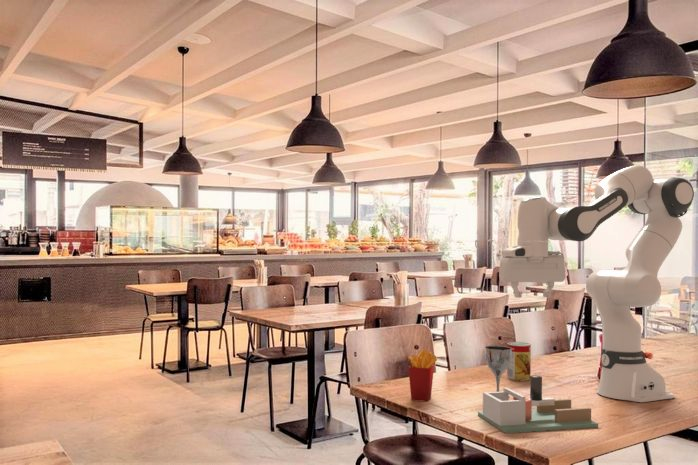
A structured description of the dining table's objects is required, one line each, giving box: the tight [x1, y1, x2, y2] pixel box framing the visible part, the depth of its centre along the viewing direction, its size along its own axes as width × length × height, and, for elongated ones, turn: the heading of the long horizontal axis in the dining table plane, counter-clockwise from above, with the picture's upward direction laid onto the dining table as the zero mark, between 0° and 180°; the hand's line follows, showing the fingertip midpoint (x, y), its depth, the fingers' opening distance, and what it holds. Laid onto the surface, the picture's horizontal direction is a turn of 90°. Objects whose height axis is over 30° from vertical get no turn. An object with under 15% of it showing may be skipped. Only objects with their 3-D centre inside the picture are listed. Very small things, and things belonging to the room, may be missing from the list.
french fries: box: [407, 348, 438, 402], centre depth 185 cm, size 9×8×15 cm
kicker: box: [512, 375, 556, 421], centre depth 162 cm, size 10×6×10 cm, turn 103°
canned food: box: [506, 341, 532, 382], centre depth 214 cm, size 8×8×12 cm
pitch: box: [477, 387, 599, 434], centre depth 162 cm, size 26×16×8 cm, turn 103°
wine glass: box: [484, 344, 511, 399], centre depth 188 cm, size 8×8×15 cm
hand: (532, 297), depth 182 cm, fingers open, 8 cm apart
